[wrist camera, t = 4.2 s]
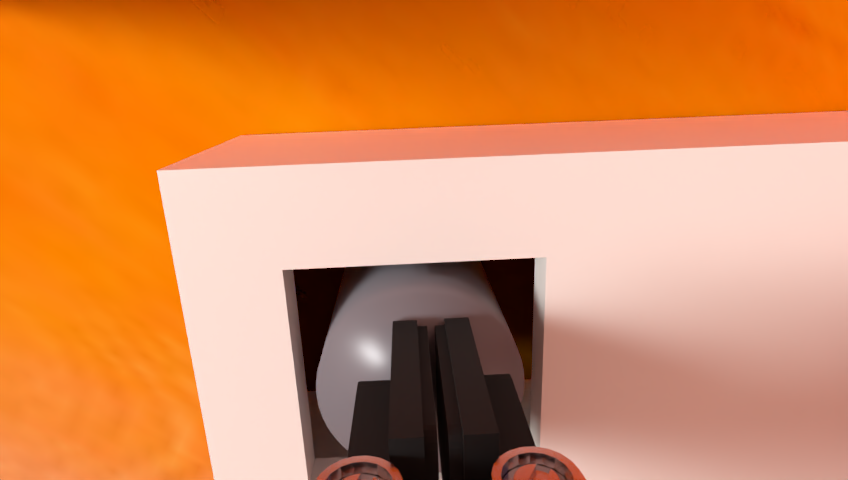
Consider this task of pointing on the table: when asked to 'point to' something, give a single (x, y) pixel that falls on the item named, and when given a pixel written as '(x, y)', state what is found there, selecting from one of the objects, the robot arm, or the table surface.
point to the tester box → (546, 282)
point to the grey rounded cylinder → (397, 301)
